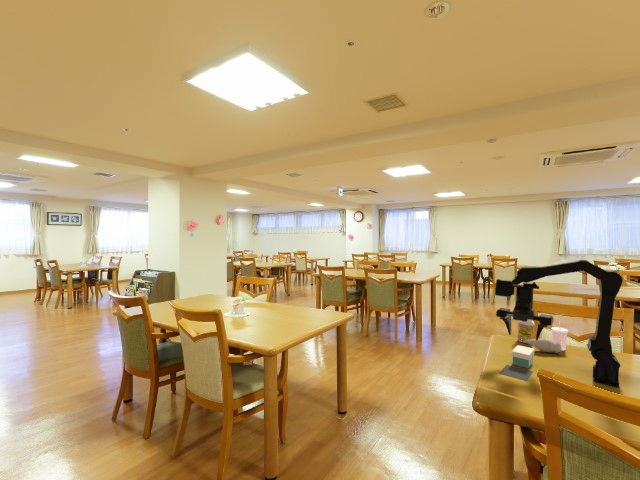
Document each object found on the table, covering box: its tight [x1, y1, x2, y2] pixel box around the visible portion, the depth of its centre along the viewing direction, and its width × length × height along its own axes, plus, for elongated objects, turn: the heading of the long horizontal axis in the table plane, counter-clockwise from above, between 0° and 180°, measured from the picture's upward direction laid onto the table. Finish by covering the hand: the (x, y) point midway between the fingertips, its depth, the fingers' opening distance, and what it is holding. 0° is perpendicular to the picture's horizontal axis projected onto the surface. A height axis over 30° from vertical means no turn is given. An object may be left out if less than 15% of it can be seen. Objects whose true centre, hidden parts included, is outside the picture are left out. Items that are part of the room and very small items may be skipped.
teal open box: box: [512, 355, 534, 370], centre depth 130 cm, size 5×8×4 cm, turn 137°
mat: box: [498, 364, 534, 382], centre depth 122 cm, size 9×11×1 cm
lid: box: [511, 345, 536, 360], centre depth 130 cm, size 6×9×2 cm, turn 137°
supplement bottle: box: [517, 319, 536, 345], centre depth 157 cm, size 7×7×13 cm
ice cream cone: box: [523, 337, 562, 354], centre depth 144 cm, size 6×6×15 cm
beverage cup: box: [551, 317, 569, 351], centre depth 148 cm, size 6×6×14 cm
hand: (523, 337), depth 130 cm, fingers open, 9 cm apart
